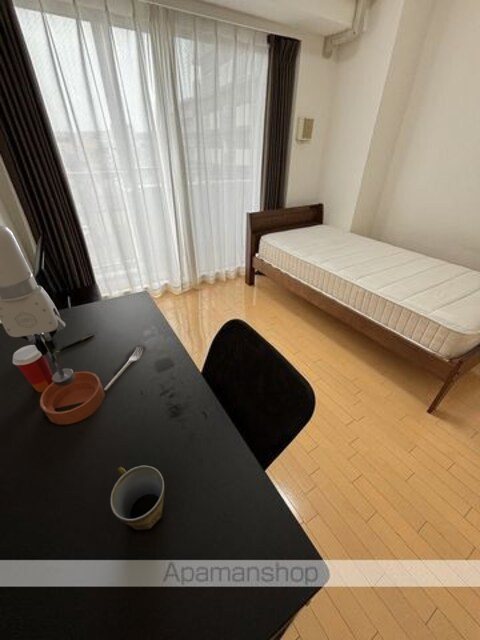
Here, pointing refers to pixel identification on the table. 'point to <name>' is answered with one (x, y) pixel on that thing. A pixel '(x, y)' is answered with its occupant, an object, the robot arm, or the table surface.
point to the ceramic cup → (137, 495)
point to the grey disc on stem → (59, 369)
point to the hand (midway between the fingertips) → (49, 350)
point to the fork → (126, 365)
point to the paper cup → (33, 367)
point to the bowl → (73, 398)
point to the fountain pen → (76, 343)
